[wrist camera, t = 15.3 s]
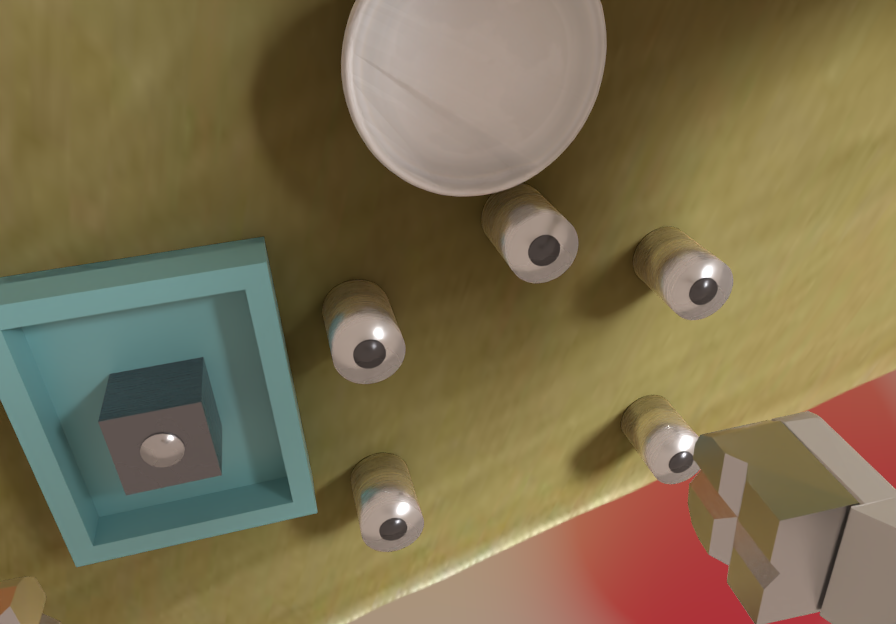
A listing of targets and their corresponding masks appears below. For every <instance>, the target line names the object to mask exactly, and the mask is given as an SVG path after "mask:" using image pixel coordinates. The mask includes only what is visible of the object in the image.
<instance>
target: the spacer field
mask: <svg viewBox="0 0 896 624" xmlns="http://www.w3.org/2000/svg"><path fill="white" fill-rule="evenodd" d="M481 221H482V227H483V230H484V232H485V234H486V236H487V237H488V238H489V240H490V241H491V242H492V244H493V245H494V246H495V248H496V249H497V250H498V252H499V253H500V255H501V256H502V257H503V259H504V260H505V261H506V263H507V264H508V265H509V267H510V268H511V269H512V271H513V272H514V273H515V275H517V276H518V277H519V278H520V279H522V280H524V281H526V282H530V283H544V282H548V281H551V280H553V279H555V278H557V277H559V276H560V275H562V274H563V273H564V272H565V271H566V270H567V269H568V268H569V267H570V266H571V264H572V263H573V261H574V259H575V257H576V254H577V251H578V236H577V233H576V230H575V228H574V227H573V226H572V224H571V223H570V222H569V221H568V220H567V219H566V218H565V217H564V216H563V215H562V214H561V213H560V212H559V211H558V210H557V209H556V208H555V207H554V206H552V205H551V204H550V203H549V202H548V201H547V200H546V199H545V198H544V197H543V196H542V195H541V194H540V193H539V192H538V191H537V190H536V189H535V188H534V187H532V186H530V185H527V184H523V183H521V184H518V185H516V186H514V187H512V188H509V189H506V190H503V191H499V192H496V193H493V194H492V195H491V196H490V197H489V199H488V200H487V202H486V204H485V206H484V208H483V211H482V217H481ZM633 268H634V271H635V273H636V275H637V276H638V277H639V278H640V279H641V280H642V281H643V282H644V283H645V284H646V285H647V286H648V287H649V288H651V289H652V290H653V291H654V292H655V293H656V294H657V295H658V296H659V297H660V298H661V299H662V300H663V301H664V302H665V303H666V304H667V305H668V306H669V307H670V308H671V309H673V310H674V311H675V312H676V313H677V314H678V315H679V316H680V317H682V318H684V319H688V320H698V319H702V318H705V317H708V316H710V315H711V314H713V313H715V312H716V311H717V310H718V309H719V308H721V307H722V305H723V304H724V303H725V302H726V300H727V299H728V297H729V295H730V293H731V290H732V287H733V275H732V272H731V270H730V268H729V267H728V266H727V265H726V264H725V263H723V262H722V261H721V260H720V259H718V258H717V257H716V256H714V255H713V254H712V253H710V252H709V251H708V250H706V249H705V248H704V247H702V246H701V245H700V244H699V243H697V242H696V241H695V240H693V239H692V238H691V237H689V236H688V235H687V234H685V233H684V232H683V231H681V230H680V229H678V228H675V227H662V228H659V229H656V230H654V231H652V232H651V233H649V234H648V235H647V236H646V237H645V238H643V240H642V241H641V242H640V243H639V245H638V246H637V248H636V251H635V253H634V257H633ZM322 312H323V319H324V323H325V328H326V332H327V337H328V341H329V346H330V350H331V355H332V359H333V363H334V366H335V368H336V370H337V371H338V373H339V374H340V375H341V376H342V377H344V378H345V379H347V380H349V381H351V382H354V383H359V384H371V383H376V382H379V381H382V380H384V379H386V378H388V377H390V376H391V375H392V374H393V373H395V372H396V371H397V370H398V368H399V367H400V365H401V364H402V362H403V360H404V356H405V342H404V339H403V337H402V334H401V332H400V329H399V326H398V324H397V321H396V319H395V316H394V313H393V311H392V308H391V306H390V303H389V301H388V298H387V296H386V294H385V292H384V291H383V290H382V289H381V288H380V287H379V286H378V285H376V284H375V283H373V282H370V281H367V280H361V279H356V280H350V281H346V282H343V283H341V284H339V285H338V286H336V287H335V288H334V289H332V290H331V291H330V293H329V294H328V295H327V297H326V299H325V301H324V304H323V310H322ZM621 428H622V431H623V433H624V434H625V436H626V437H627V438H628V440H629V441H630V442H631V444H632V445H633V447H634V448H635V449H636V451H637V452H638V454H639V455H640V456H641V458H642V459H643V460H644V462H645V463H646V465H647V466H648V467H649V469H650V470H651V472H652V473H653V474H654V476H655V477H656V478H657V479H658V480H659V481H660V482H662V483H665V484H676V483H680V482H683V481H685V480H687V479H689V478H690V477H692V476H693V475H695V474H696V473H697V472H698V471H699V470H700V468H699V466H698V465H697V463H696V462H695V461H694V459H693V454H694V447H695V443H696V441H697V440H698V438H699V437H698V436H697V435H696V433H695V432H694V431H693V430H692V429H691V427H690V426H689V425H688V424H687V423H686V422H685V420H684V419H683V418H682V417H681V416H680V415H679V413H678V412H677V411H676V410H675V409H674V408H673V406H672V405H671V404H670V403H669V402H668V400H666V399H665V398H664V397H662V396H658V395H650V396H645V397H643V398H640V399H638V400H637V401H635V402H634V403H632V404H631V405H630V406H629V407H628V408H627V410H626V411H625V413H624V414H623V417H622V420H621ZM351 485H352V490H353V495H354V500H355V505H356V510H357V515H358V519H359V524H360V529H361V534H362V538H363V540H364V542H365V543H366V545H368V546H369V547H370V548H372V549H374V550H377V551H383V552H389V551H396V550H399V549H402V548H405V547H407V546H408V545H410V544H411V543H413V542H414V541H415V540H416V539H417V538H418V537H419V536H420V534H421V532H422V530H423V527H424V520H423V516H422V513H421V509H420V506H419V503H418V500H417V497H416V493H415V490H414V487H413V484H412V480H411V477H410V474H409V471H408V467H407V465H406V463H405V461H404V460H403V459H402V458H400V457H399V456H397V455H394V454H390V453H378V454H374V455H371V456H368V457H366V458H365V459H363V460H362V461H360V462H359V463H358V464H357V465H356V466H355V468H354V469H353V471H352V474H351Z"/></svg>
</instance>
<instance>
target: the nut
mask: <svg viewBox="0 0 896 624" xmlns="http://www.w3.org/2000/svg"><path fill="white" fill-rule="evenodd" d="M98 423H99V426H100V428H101V431H102V433H103V436H104V439H105V441H106V444H107V447H108V449H109V452H110V455H111V457H112V460H113V463H114V465H115V468H116V470H117V473H118V476H119V478H120V481H121V484H122V486H123V489H124V492H125V494H126V495H131V494H136V493H140V492H145V491H150V490H155V489H159V488H164V487H169V486H173V485H178V484H183V483H188V482H192V481H197V480H202V479H207V478H211V477H216V476H221V475H222V423H221V420H220V416H219V412H218V409H217V405H216V401H215V398H214V394H213V390H212V387H211V383H210V379H209V376H208V372H207V368H206V364H205V361H204V357H200V358H195V359H189V360H184V361H178V362H173V363H167V364H162V365H156V366H151V367H145V368H140V369H134V370H129V371H123V372H118V373H112V374H110V375H109V379H108V383H107V387H106V391H105V395H104V399H103V404H102V408H101V412H100V416H99V420H98Z"/></svg>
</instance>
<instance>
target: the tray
mask: <svg viewBox="0 0 896 624" xmlns="http://www.w3.org/2000/svg"><path fill="white" fill-rule="evenodd" d="M200 357H204V361H205V364H206V368H207V372H208V376H209V379H210V383H211V387H212V390H213V394H214V398H215V401H216V405H217V409H218V412H219V416H220V420H221V423H222V475H221V476H216V477H211V478H207V479H202V480H197V481H192V482H188V483H183V484H178V485H173V486H169V487H164V488H159V489H155V490H150V491H145V492H140V493H136V494H131V495H126V494H125V492H124V489H123V486H122V484H121V481H120V478H119V476H118V473H117V470H116V468H115V465H114V463H113V460H112V457H111V455H110V452H109V449H108V447H107V444H106V441H105V439H104V436H103V433H102V431H101V428H100V426H99V423H98V420H99V416H100V412H101V408H102V404H103V399H104V395H105V391H106V387H107V383H108V379H109V375H110V374H112V373H118V372H123V371H129V370H134V369H140V368H145V367H151V366H156V365H162V364H167V363H173V362H178V361H184V360H189V359H195V358H200ZM0 400H1V402H2V404H3V406H4V409H5V411H6V413H7V415H8V418H9V420H10V422H11V424H12V426H13V429H14V431H15V433H16V435H17V437H18V440H19V442H20V444H21V446H22V448H23V451H24V453H25V455H26V457H27V459H28V462H29V464H30V466H31V468H32V471H33V473H34V475H35V477H36V479H37V482H38V484H39V486H40V488H41V490H42V493H43V495H44V497H45V499H46V501H47V504H48V506H49V508H50V510H51V512H52V515H53V517H54V519H55V521H56V523H57V526H58V528H59V530H60V532H61V535H62V537H63V539H64V541H65V543H66V546H67V548H68V550H69V552H70V554H71V557H72V559H73V561H74V563H75V565H76V567H80V566H84V565H89V564H93V563H98V562H102V561H107V560H111V559H115V558H120V557H124V556H129V555H133V554H138V553H142V552H146V551H151V550H155V549H160V548H164V547H169V546H173V545H178V544H182V543H186V542H191V541H195V540H200V539H204V538H209V537H213V536H218V535H222V534H226V533H231V532H235V531H240V530H244V529H249V528H253V527H257V526H262V525H266V524H271V523H275V522H280V521H284V520H289V519H293V518H297V517H302V516H306V515H311V514H315V513H318V512H317V505H316V498H315V491H314V484H313V477H312V472H311V467H310V462H309V457H308V452H307V447H306V442H305V437H304V433H303V428H302V423H301V418H300V413H299V408H298V403H297V398H296V393H295V388H294V383H293V378H292V373H291V368H290V363H289V358H288V353H287V348H286V343H285V339H284V334H283V329H282V324H281V319H280V314H279V309H278V304H277V299H276V294H275V289H274V284H273V279H272V274H271V269H270V264H269V259H268V254H267V249H266V244H265V240H264V237H258V238H252V239H245V240H239V241H232V242H226V243H219V244H213V245H206V246H200V247H193V248H187V249H181V250H174V251H168V252H161V253H155V254H148V255H142V256H135V257H129V258H123V259H116V260H110V261H103V262H97V263H90V264H84V265H77V266H71V267H65V268H58V269H52V270H45V271H39V272H32V273H26V274H19V275H13V276H7V277H0Z"/></svg>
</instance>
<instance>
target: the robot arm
mask: <svg viewBox="0 0 896 624" xmlns="http://www.w3.org/2000/svg"><path fill="white" fill-rule="evenodd" d="M693 459H694V461H695V462H696V463H697V465H698V466H699V468H700V469H701V470H700V472H699V473H698V474H697V476H696V477H695V478H694V479H693V480H692V481H691V483H690V484H689V495H688V506H689V512H690V516H691V521H692V525H693V527H694V529H695V531H696V534H697V536H698V538H699V540H700V542H701V543H702V545H703V546H704V548H705V549H706V551H707V553H708V554H709V555H711V556H712V557H714V558H717V559H718V560H720V561H722V562H723V563H725V564H727V565H729V570H728V577H727V583H728V585H729V586H730V588H731V589H732V590H733V592H734V593H735V595H736V596H737V598H738V599H739V601H740V602H741V604H742V605H743V607H744V608H745V610H746V611H747V613H748V614H749V616H750V617H751V619H752V620H753V622H754V623H755V624H766V623H770V622H775V621H779V620H784V619H788V618H793V617H798V616H802V615H807V614H811V613H816V612H820V611H821V612H820V616H821V617H823V618H824V619H826V620H827V621H829V622H830V623H832V624H896V489H895V488H894V487H892V485H890V484H889V483H888V482H887V481H886V480H885V479H884V478H883V477H882V476H881V475H880V474H879V473H878V472H877V471H876V470H875V469H874V468H872V467H871V465H869V463H868V462H867V461H865V460H864V459H863V458H862V457H861V456H860V455H859V454H858V453H857V452H856V451H855V450H854V449H853V448H852V447H851V446H850V445H849V444H848V443H847V442H846V441H845V440H843V438H841V437H840V436H839V435H838V434H837V433H836V432H835V431H834V430H833V429H832V428H831V427H830V426H829V425H828V424H827V423H826V422H825V421H824V420H823V419H822V418H821V417H819V416H818V415H816V414H814V413H811V412H809V411H806V412H802V413H797V414H793V415H788V416H784V417H779V418H775V419H772V420H766V421H761V422H757V423H752V424H748V425H743V426H739V427H734V428H729V429H725V430H720V431H716V432H711V433H707V434H702V435H700V437H699V438H698V440H697V441H696V443H695V447H694V454H693ZM46 598H47V596H46V594H45V592H44V591H43V589H42V587H41V586H40V584H39V582H38V581H37V579H36V577H26V576H25V577H19V578H14V579H9V580H3V581H0V624H61V622H60V621H58V620H56V619H54V618H52V617H50V616H47V615H45V614H43V613H42V612H43V608H44V605H45V601H46Z"/></svg>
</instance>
